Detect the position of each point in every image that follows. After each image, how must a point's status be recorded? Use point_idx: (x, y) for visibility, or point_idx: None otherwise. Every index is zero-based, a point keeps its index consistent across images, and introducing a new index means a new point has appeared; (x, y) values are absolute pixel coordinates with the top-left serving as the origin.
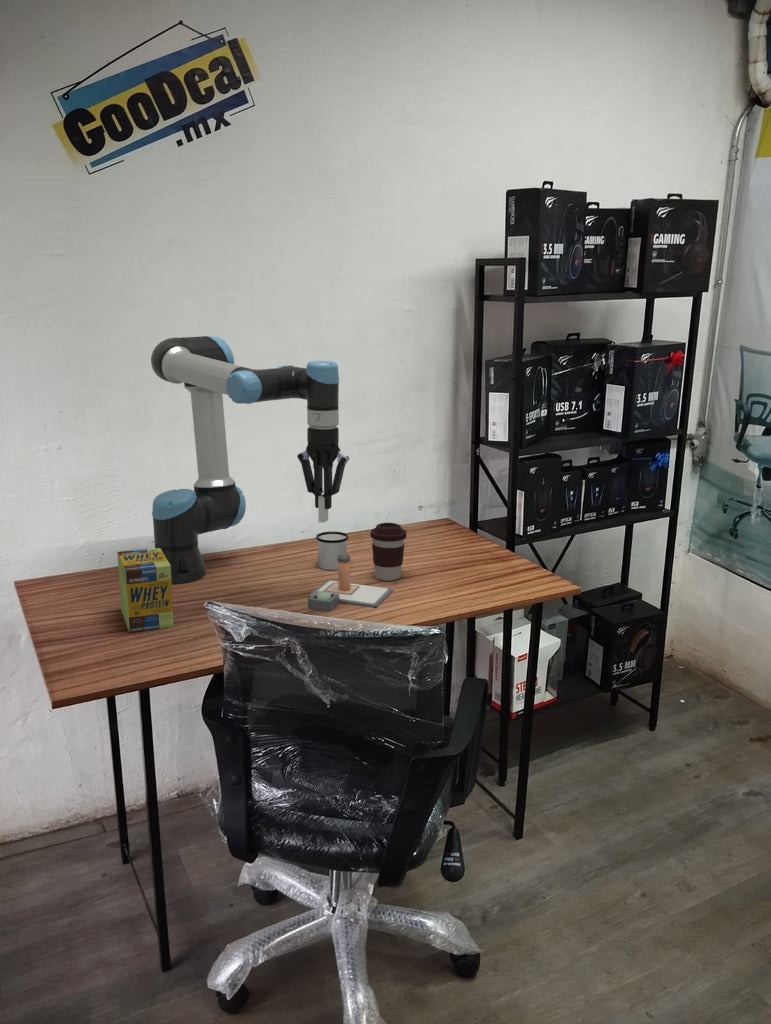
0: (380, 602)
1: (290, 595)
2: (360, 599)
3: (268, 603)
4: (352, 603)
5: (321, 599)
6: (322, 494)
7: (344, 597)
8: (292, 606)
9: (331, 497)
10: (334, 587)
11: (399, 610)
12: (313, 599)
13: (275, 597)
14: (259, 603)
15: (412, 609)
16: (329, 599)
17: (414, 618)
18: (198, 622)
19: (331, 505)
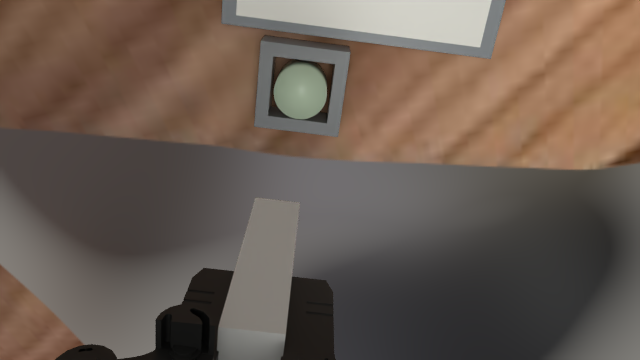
0: (500, 14)
1: (150, 11)
2: (425, 18)
3: (114, 106)
4: (398, 46)
5: (301, 120)
6: (222, 340)
7: (361, 13)
8: (202, 112)
9: (333, 350)
10: None
11: (571, 59)
12: (274, 127)
13: (109, 45)
14: (86, 113)
15: (619, 38)
16: (329, 114)
17: (622, 116)
18: (7, 282)
19: (332, 295)
